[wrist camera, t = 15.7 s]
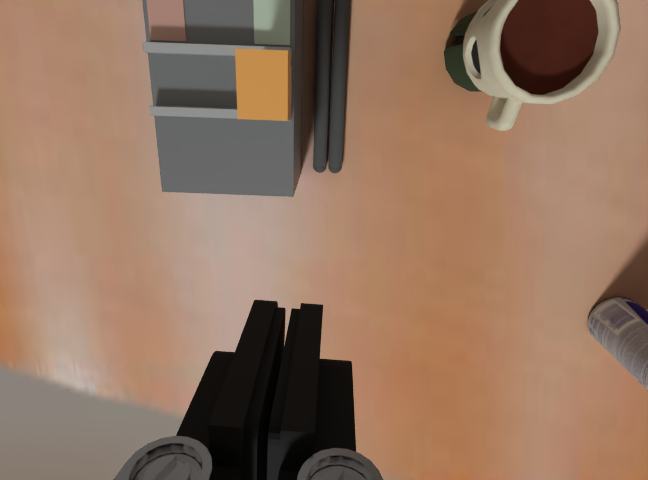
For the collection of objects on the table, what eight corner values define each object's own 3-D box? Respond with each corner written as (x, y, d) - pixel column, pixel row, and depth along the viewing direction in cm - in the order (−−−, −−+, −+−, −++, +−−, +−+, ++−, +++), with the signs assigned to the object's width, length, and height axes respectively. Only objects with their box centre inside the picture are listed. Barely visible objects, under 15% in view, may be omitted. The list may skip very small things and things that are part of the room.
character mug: (463, -33, 34) (537, -95, 22) (546, -8, 34) (665, -56, 22) (418, 107, 38) (460, 120, 25) (494, 127, 38) (571, 150, 26)
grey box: (179, -27, 34) (128, -63, 26) (303, -23, 34) (293, -57, 26) (194, 170, 40) (156, 195, 31) (300, 174, 40) (291, 200, 31)
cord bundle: (318, -17, 34) (317, -20, 33) (350, -15, 34) (351, -19, 33) (313, 170, 40) (312, 173, 39) (341, 171, 40) (341, 174, 39)
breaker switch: (255, 55, 29) (235, 48, 22) (297, 56, 29) (287, 50, 22) (257, 110, 30) (237, 119, 24) (296, 112, 30) (287, 121, 24)
